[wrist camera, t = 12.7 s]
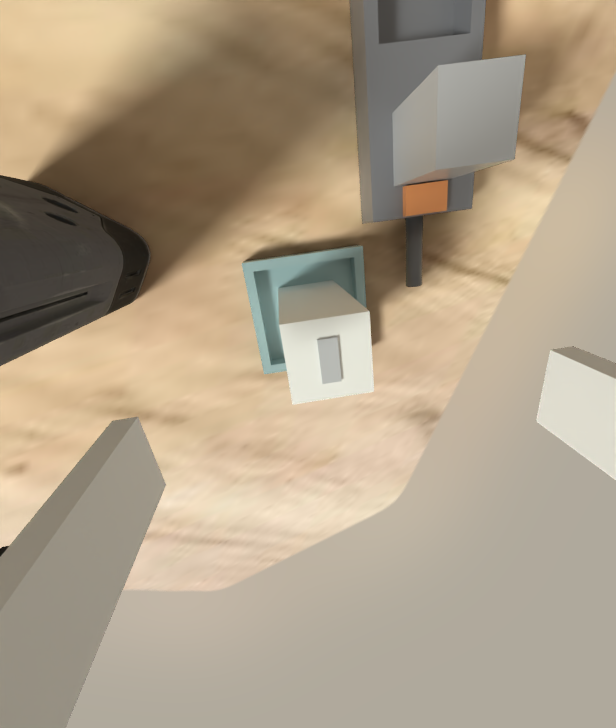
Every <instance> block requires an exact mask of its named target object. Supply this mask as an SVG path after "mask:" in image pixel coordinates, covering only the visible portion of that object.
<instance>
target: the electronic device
mask: <svg viewBox="0 0 616 728" xmlns="http://www.w3.org/2000/svg"><path fill="white" fill-rule="evenodd" d="M149 262H150V250H149V247H148V245H147V243H146V241H145V240H144V239H143V238H142V237H141V236H140V235H139V234H138V233H136V232H135V231H133V230H131V229H130V228H128V227H126V226H124V225H122V224H120V223H118V222H116V221H114V220H112V219H110V218H108V217H106V216H104V215H102V214H100V213H98V212H96V211H94V210H92V209H90V208H88V207H86V206H84V205H82V204H80V203H78V202H76V201H74V200H72V199H70V198H68V197H66V196H64V195H62V194H60V193H58V192H56V191H54V190H52V189H50V188H48V187H46V186H44V185H41V184H39V183H34V182H30V181H25V180H21V179H16V178H11V177H6V176H2V175H0V366H1V365H3V364H5V363H8V362H10V361H12V360H14V359H16V358H18V357H20V356H22V355H24V354H26V353H28V352H30V351H32V350H35V349H37V348H39V347H41V346H43V345H45V344H47V343H49V342H51V341H53V340H55V339H57V338H60V337H62V336H64V335H66V334H68V333H70V332H72V331H74V330H76V329H78V328H80V327H82V326H84V325H87V324H89V323H91V322H93V321H95V320H97V319H99V318H101V317H103V316H105V315H107V314H110V313H112V312H114V311H116V310H118V309H120V308H122V307H124V306H126V305H128V304H130V303H132V302H133V301H134V300H135V299H136V298H137V296H138V294H139V291H140V289H141V286H142V283H143V280H144V277H145V274H146V271H147V269H148V266H149Z"/></svg>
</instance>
